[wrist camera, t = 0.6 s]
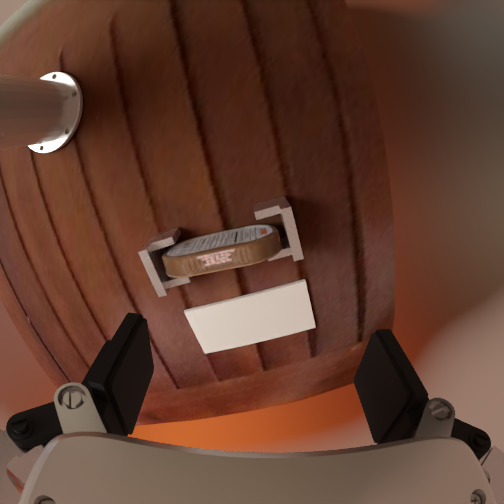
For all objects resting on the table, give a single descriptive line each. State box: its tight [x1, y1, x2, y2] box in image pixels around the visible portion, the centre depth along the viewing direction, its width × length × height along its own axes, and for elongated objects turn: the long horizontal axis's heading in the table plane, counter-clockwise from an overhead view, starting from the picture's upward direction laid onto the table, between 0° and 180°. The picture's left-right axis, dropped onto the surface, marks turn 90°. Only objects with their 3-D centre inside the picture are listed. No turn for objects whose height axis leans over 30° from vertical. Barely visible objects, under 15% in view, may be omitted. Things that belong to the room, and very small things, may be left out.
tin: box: [162, 224, 282, 278], centre depth 36 cm, size 15×3×8 cm, turn 102°
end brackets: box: [138, 196, 304, 297], centre depth 37 cm, size 7×19×6 cm, turn 107°
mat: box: [184, 279, 315, 354], centre depth 45 cm, size 19×9×1 cm, turn 106°
